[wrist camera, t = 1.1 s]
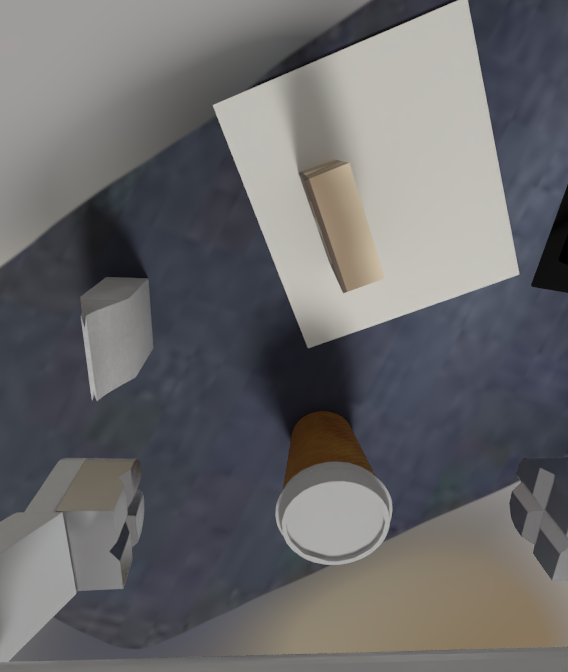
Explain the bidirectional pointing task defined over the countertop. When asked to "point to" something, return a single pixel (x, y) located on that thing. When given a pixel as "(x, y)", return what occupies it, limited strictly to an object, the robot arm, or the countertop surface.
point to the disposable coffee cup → (331, 494)
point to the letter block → (342, 224)
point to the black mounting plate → (555, 254)
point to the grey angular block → (116, 331)
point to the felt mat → (380, 171)
